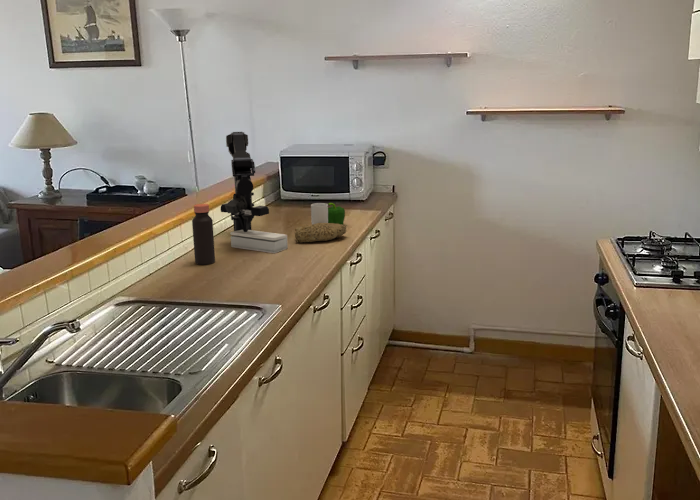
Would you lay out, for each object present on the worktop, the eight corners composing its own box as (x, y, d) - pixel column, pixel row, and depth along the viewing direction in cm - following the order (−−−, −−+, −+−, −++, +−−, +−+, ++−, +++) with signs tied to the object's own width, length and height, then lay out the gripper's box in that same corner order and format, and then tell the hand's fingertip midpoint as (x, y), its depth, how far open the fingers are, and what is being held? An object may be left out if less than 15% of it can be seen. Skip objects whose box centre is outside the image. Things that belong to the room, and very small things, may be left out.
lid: (230, 234, 258) (230, 232, 258) (244, 231, 265) (244, 229, 265) (274, 240, 248) (274, 237, 248) (287, 237, 255) (287, 234, 255)
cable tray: (231, 246, 259) (230, 236, 258) (244, 242, 266) (244, 232, 265) (274, 253, 250) (274, 242, 248) (287, 248, 256) (287, 237, 255)
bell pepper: (346, 224, 295) (345, 200, 292) (344, 228, 287) (343, 204, 285) (326, 223, 296) (326, 200, 293) (324, 228, 288) (323, 204, 285)
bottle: (208, 258, 244) (204, 202, 239) (219, 262, 239) (215, 204, 234) (191, 262, 239) (187, 205, 234) (202, 266, 234) (198, 207, 229)
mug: (325, 236, 273) (325, 206, 270) (309, 235, 275) (308, 206, 272) (332, 230, 283) (332, 201, 280) (316, 230, 284) (315, 201, 281)
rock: (297, 248, 261) (349, 236, 262) (292, 228, 260) (344, 215, 261) (298, 246, 274) (347, 234, 275) (293, 227, 273) (342, 215, 274)
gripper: (209, 191, 253) (211, 233, 257) (249, 195, 244) (252, 239, 248) (229, 187, 263) (231, 227, 267) (269, 191, 253) (270, 232, 257)
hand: (245, 231), depth 259 cm, fingers closed, pressing on lid
